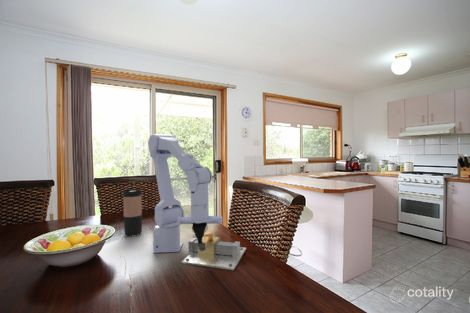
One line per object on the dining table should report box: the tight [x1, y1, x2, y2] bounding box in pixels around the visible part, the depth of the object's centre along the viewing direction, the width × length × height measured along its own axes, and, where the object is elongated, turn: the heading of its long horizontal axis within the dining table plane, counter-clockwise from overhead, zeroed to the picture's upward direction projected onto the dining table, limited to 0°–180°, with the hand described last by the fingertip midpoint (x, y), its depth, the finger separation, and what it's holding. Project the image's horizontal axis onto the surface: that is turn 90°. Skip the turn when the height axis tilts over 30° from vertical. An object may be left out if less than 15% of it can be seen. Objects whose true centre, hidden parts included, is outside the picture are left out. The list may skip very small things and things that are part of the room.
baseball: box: [191, 224, 209, 235], centre depth 102 cm, size 7×7×7 cm
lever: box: [199, 231, 214, 251], centre depth 77 cm, size 12×3×2 cm, turn 175°
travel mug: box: [122, 188, 143, 237], centre depth 105 cm, size 8×8×20 cm
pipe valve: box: [187, 236, 241, 257], centre depth 81 cm, size 18×6×5 cm, turn 74°
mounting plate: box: [180, 246, 247, 271], centre depth 80 cm, size 18×16×1 cm
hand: (200, 245), depth 75 cm, fingers closed, pressing on lever
